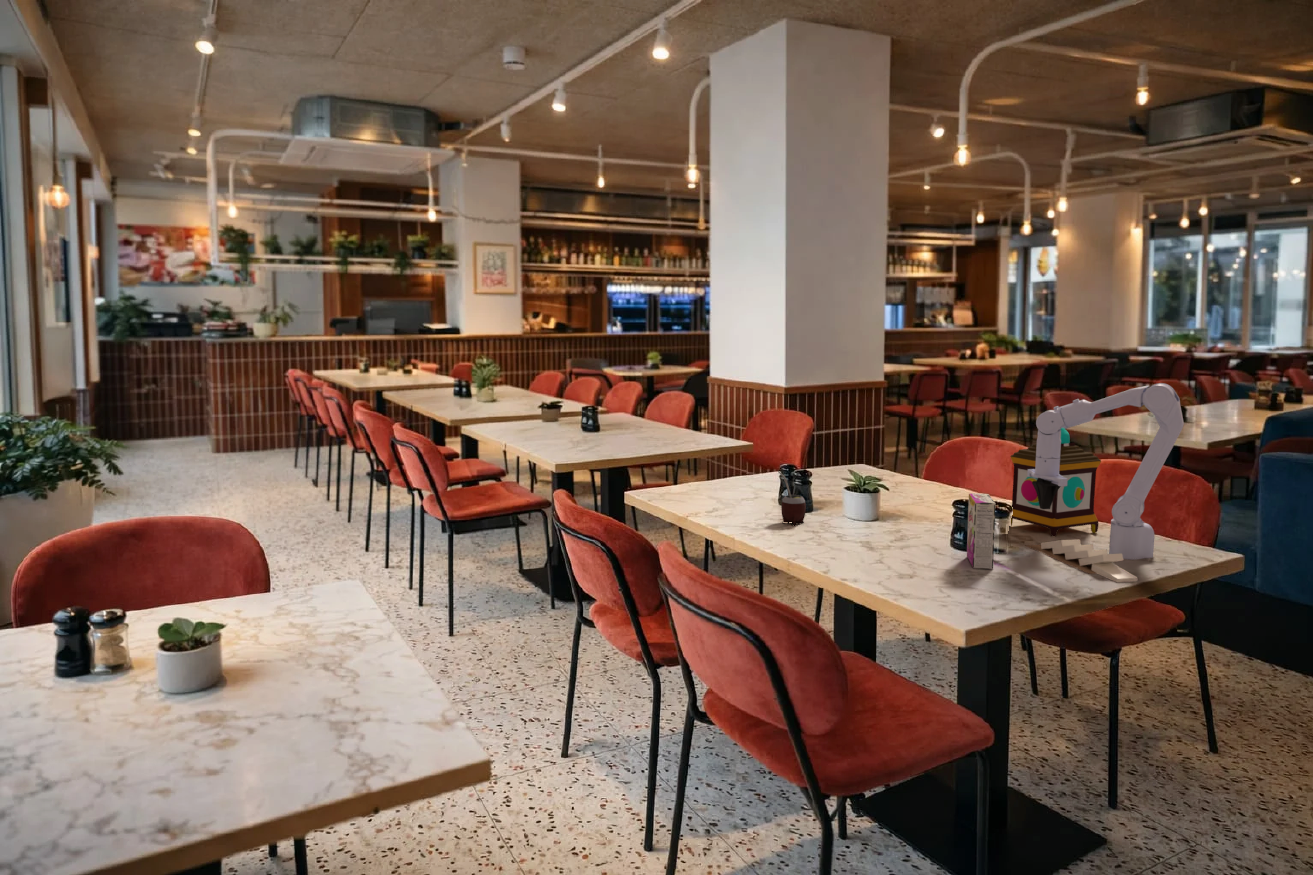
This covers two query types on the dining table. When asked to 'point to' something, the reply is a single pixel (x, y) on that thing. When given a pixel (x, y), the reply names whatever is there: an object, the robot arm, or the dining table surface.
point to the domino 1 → (1059, 543)
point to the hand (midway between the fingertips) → (1045, 508)
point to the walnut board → (1063, 559)
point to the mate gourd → (792, 507)
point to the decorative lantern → (1069, 501)
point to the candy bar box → (981, 531)
